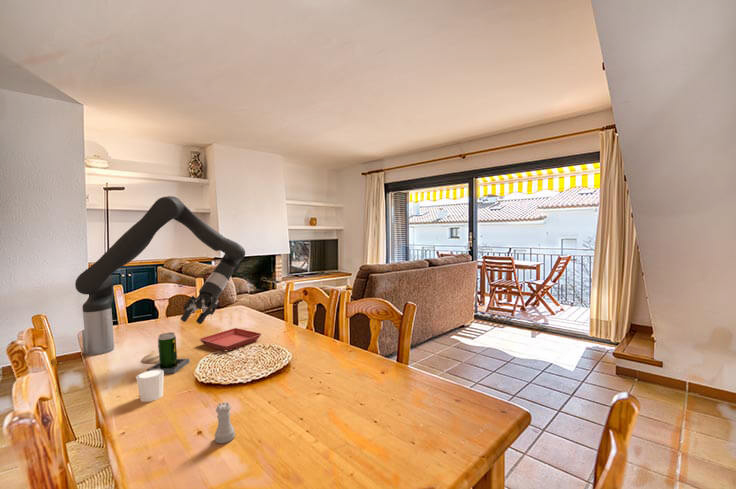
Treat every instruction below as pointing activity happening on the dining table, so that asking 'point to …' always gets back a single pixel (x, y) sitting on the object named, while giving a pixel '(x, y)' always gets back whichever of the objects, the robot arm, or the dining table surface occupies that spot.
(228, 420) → the rook chess piece
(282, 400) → the dining table surface
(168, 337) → the beer can
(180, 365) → the collar
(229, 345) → the plant saucer
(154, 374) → the white tapered cylinder
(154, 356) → the coaster
